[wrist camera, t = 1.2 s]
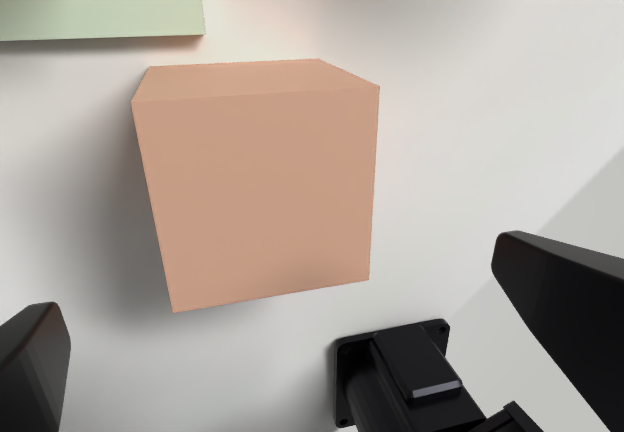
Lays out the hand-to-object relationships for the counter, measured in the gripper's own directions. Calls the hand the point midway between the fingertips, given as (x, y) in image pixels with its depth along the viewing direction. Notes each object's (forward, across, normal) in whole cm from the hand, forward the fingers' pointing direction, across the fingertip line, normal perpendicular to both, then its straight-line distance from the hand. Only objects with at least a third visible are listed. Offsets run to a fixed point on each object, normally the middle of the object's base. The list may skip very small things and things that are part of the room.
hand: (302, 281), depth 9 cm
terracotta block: (+10, 0, 0) cm, 10 cm away
